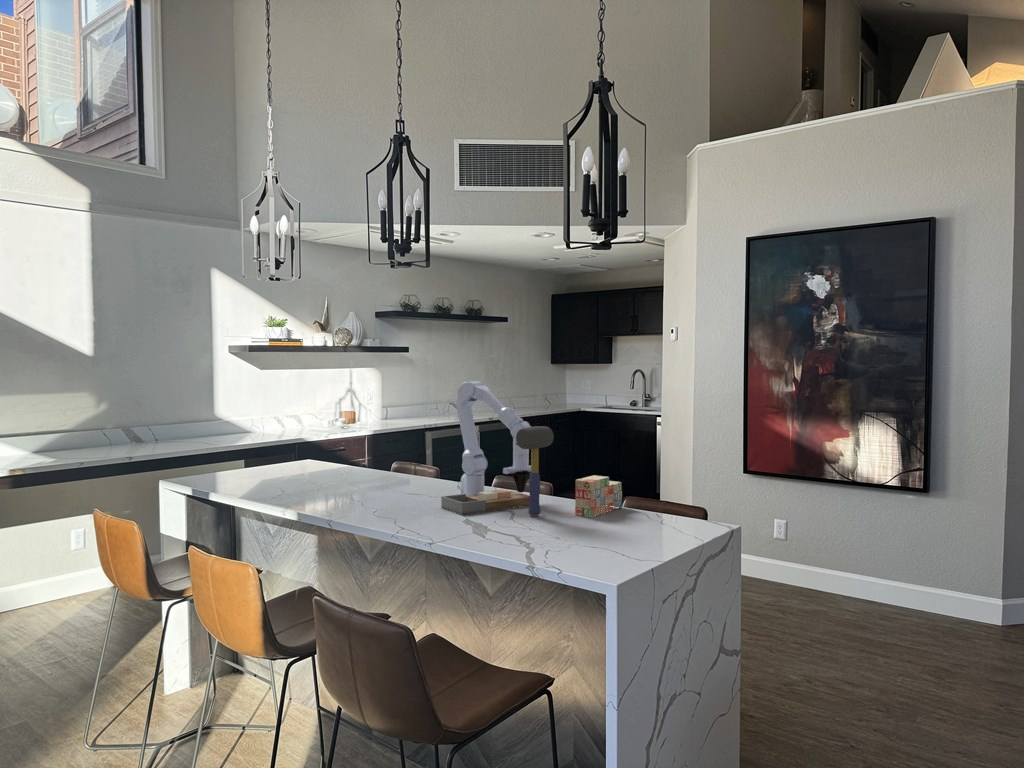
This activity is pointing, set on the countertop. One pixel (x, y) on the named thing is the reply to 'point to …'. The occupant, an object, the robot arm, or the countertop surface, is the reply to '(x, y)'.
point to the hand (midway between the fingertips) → (520, 492)
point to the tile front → (488, 495)
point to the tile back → (503, 493)
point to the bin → (462, 504)
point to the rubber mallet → (534, 459)
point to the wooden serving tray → (503, 501)
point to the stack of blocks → (597, 495)
